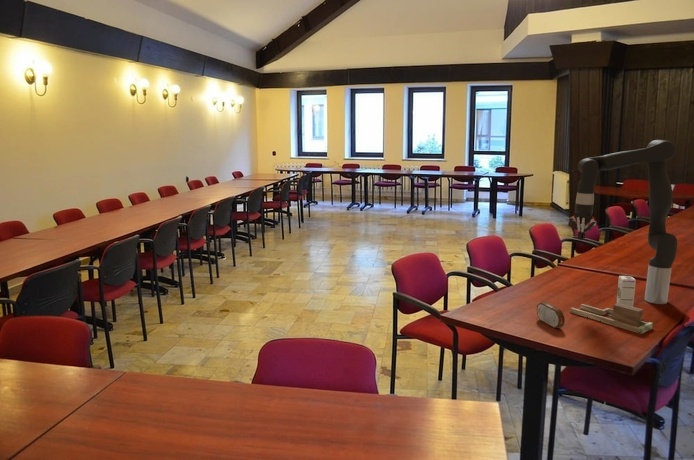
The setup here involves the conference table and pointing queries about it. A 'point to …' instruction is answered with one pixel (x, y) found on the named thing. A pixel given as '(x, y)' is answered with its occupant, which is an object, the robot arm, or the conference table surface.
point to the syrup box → (626, 290)
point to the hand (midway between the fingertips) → (581, 239)
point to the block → (627, 314)
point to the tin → (550, 315)
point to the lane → (609, 312)
